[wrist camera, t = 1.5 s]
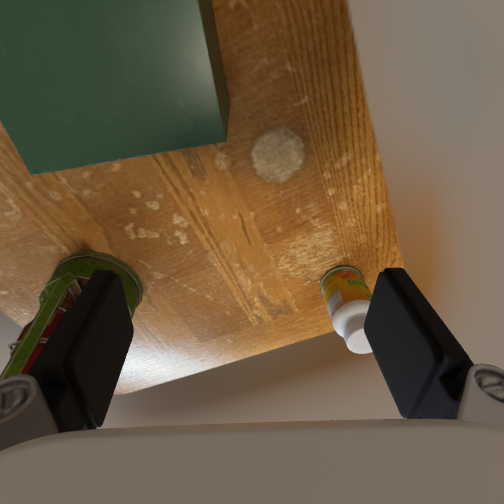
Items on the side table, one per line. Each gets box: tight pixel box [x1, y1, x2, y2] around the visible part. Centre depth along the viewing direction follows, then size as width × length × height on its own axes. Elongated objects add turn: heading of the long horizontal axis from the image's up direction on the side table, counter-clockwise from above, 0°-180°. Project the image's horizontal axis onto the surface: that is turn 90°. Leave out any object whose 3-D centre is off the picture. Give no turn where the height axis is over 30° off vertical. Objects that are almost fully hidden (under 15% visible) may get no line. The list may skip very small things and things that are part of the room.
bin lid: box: [0, 0, 227, 175], centre depth 14 cm, size 14×12×5 cm
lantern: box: [0, 251, 143, 380], centre depth 27 cm, size 14×11×30 cm
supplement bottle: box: [321, 267, 373, 354], centre depth 37 cm, size 5×5×10 cm
